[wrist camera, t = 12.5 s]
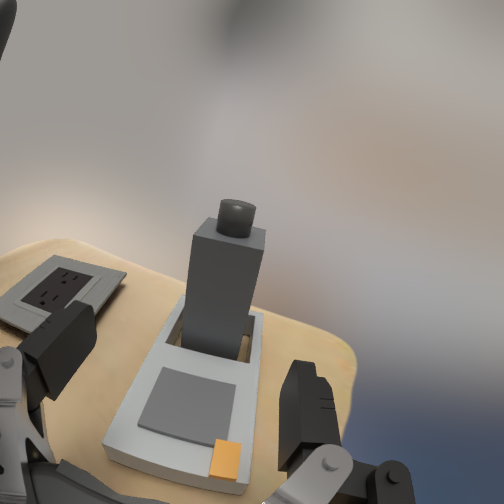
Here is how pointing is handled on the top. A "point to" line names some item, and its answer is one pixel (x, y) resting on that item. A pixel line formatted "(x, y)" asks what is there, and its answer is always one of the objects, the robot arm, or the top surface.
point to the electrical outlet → (57, 291)
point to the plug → (222, 280)
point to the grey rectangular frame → (190, 413)
